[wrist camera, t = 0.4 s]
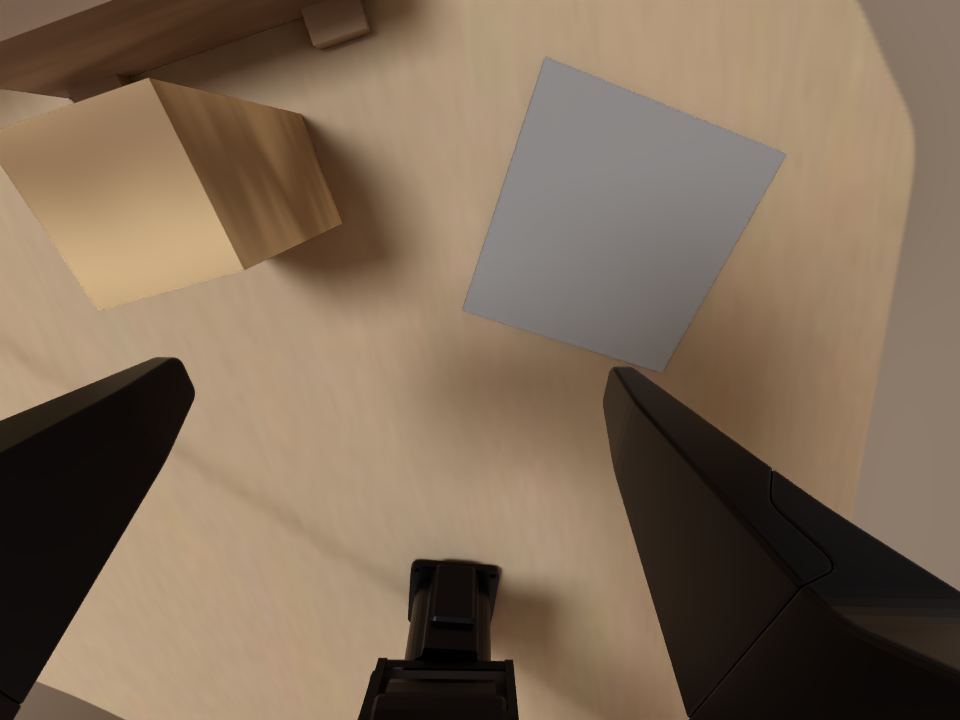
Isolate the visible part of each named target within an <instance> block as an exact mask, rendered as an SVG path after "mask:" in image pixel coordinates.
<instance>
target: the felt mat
mask: <svg viewBox="0 0 960 720" xmlns="http://www.w3.org/2000/svg"><path fill="white" fill-rule="evenodd" d="M785 156H786V153H784V152H781V151H779V150H776V149H774V148H771V147H769V146H766V145H764V144H761V143H759V142H757V141H754V140H752V139H749V138H747V137H744V136H742V135H739V134H737V133H734V132H732V131H729V130H727V129H724V128H722V127H719V126H717V125H714V124H712V123H709V122H707V121H704V120H702V119H699V118H697V117H694V116H692V115H690V114H687V113H685V112H682V111H680V110H677V109H675V108H672V107H670V106H667V105H665V104H662V103H660V102H657V101H655V100H652V99H650V98H647V97H645V96H642V95H640V94H637V93H635V92H632V91H630V90H628V89H625V88H623V87H620V86H618V85H615V84H613V83H610V82H608V81H605V80H603V79H600V78H598V77H595V76H593V75H590V74H588V73H585V72H583V71H580V70H578V69H575V68H573V67H570V66H568V65H565V64H563V63H561V62H558V61H556V60H553V59H551V58H548V57H545V59H544V62H543V65H542V68H541V71H540V74H539V77H538V80H537V83H536V86H535V89H534V92H533V95H532V98H531V101H530V104H529V107H528V111H527V114H526V117H525V120H524V123H523V126H522V129H521V132H520V135H519V138H518V141H517V144H516V147H515V150H514V153H513V156H512V159H511V163H510V166H509V169H508V172H507V175H506V178H505V181H504V184H503V187H502V190H501V193H500V196H499V199H498V202H497V205H496V208H495V211H494V215H493V218H492V221H491V224H490V227H489V230H488V233H487V236H486V239H485V242H484V245H483V248H482V251H481V254H480V257H479V260H478V264H477V267H476V270H475V273H474V276H473V279H472V282H471V285H470V288H469V291H468V294H467V297H466V300H465V303H464V306H463V311H465V312H468V313H472V314H475V315H478V316H481V317H484V318H487V319H491V320H494V321H497V322H500V323H503V324H507V325H510V326H513V327H516V328H519V329H522V330H526V331H529V332H532V333H535V334H538V335H542V336H545V337H548V338H551V339H554V340H557V341H561V342H564V343H567V344H570V345H573V346H577V347H580V348H583V349H586V350H589V351H592V352H596V353H599V354H602V355H605V356H608V357H612V358H615V359H618V360H621V361H624V362H628V363H631V364H634V365H637V366H640V367H643V368H647V369H650V370H653V371H656V372H659V373H662V372H663V370H664V369H665V367H666V365H667V363H668V362H669V360H670V358H671V356H672V355H673V353H674V351H675V349H676V348H677V346H678V344H679V342H680V341H681V339H682V337H683V335H684V334H685V332H686V330H687V328H688V327H689V325H690V323H691V321H692V319H693V318H694V316H695V314H696V312H697V311H698V309H699V307H700V305H701V304H702V302H703V300H704V298H705V297H706V295H707V293H708V291H709V290H710V288H711V286H712V284H713V283H714V281H715V279H716V277H717V276H718V274H719V272H720V270H721V269H722V267H723V265H724V263H725V261H726V260H727V258H728V256H729V254H730V253H731V251H732V249H733V247H734V246H735V244H736V242H737V240H738V239H739V237H740V235H741V233H742V232H743V230H744V228H745V226H746V225H747V223H748V221H749V219H750V218H751V216H752V214H753V212H754V211H755V209H756V207H757V205H758V203H759V202H760V200H761V198H762V196H763V195H764V193H765V191H766V189H767V188H768V186H769V184H770V182H771V181H772V179H773V177H774V175H775V174H776V172H777V170H778V168H779V167H780V165H781V163H782V161H783V160H784V158H785Z"/></svg>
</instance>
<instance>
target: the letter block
mask: <svg viewBox="0 0 960 720" xmlns="http://www.w3.org/2000/svg"><path fill="white" fill-rule="evenodd" d="M0 165H1V166H2V168H3V169H4V171H5V172H6V174H7V175H8V177H9V178H10V180H11V181H12V183H13V184H14V186H15V187H16V189H17V190H18V192H19V193H20V195H21V196H22V198H23V199H24V201H25V202H26V204H27V205H28V207H29V208H30V210H31V211H32V213H33V214H34V216H35V217H36V219H37V220H38V222H39V223H40V225H41V226H42V228H43V229H44V231H45V232H46V234H47V235H48V237H49V238H50V240H51V241H52V243H53V244H54V246H55V247H56V249H57V250H58V252H59V253H60V255H61V256H62V258H63V259H64V261H65V262H66V264H67V265H68V267H69V268H70V270H71V271H72V273H73V274H74V276H75V277H76V279H77V280H78V282H79V283H80V285H81V286H82V288H83V289H84V291H85V292H86V294H87V295H88V297H89V298H90V300H91V301H92V303H93V304H94V306H95V307H96V309H97V310H98V311H100V310H103V309H107V308H110V307H114V306H118V305H121V304H125V303H128V302H132V301H136V300H139V299H143V298H146V297H150V296H154V295H157V294H161V293H164V292H168V291H172V290H175V289H179V288H182V287H186V286H189V285H193V284H197V283H200V282H204V281H207V280H211V279H215V278H218V277H222V276H225V275H229V274H233V273H236V272H240V271H243V270H246V269H248V268H250V267H252V266H254V265H256V264H258V263H261V262H263V261H265V260H267V259H269V258H271V257H273V256H275V255H277V254H280V253H282V252H284V251H286V250H288V249H290V248H292V247H294V246H296V245H298V244H301V243H303V242H305V241H307V240H309V239H311V238H313V237H315V236H317V235H320V234H322V233H324V232H326V231H328V230H330V229H332V228H334V227H336V226H339V225H341V224H343V223H342V220H341V218H340V215H339V213H338V210H337V207H336V205H335V202H334V199H333V197H332V194H331V192H330V189H329V186H328V184H327V181H326V179H325V176H324V173H323V171H322V168H321V166H320V163H319V160H318V158H317V155H316V152H315V150H314V147H313V145H312V142H311V139H310V137H309V134H308V132H307V129H306V126H305V124H304V121H303V118H302V116H301V114H299V113H295V112H290V111H286V110H282V109H278V108H274V107H269V106H265V105H261V104H257V103H253V102H248V101H244V100H240V99H236V98H232V97H227V96H223V95H219V94H215V93H210V92H206V91H202V90H198V89H194V88H189V87H185V86H181V85H177V84H173V83H168V82H164V81H160V80H156V79H152V78H147V79H144V80H141V81H138V82H135V83H132V84H129V85H126V86H123V87H120V88H117V89H114V90H112V91H109V92H106V93H103V94H100V95H97V96H94V97H91V98H88V99H85V100H82V101H80V102H77V103H74V104H71V105H68V106H65V107H62V108H59V109H56V110H53V111H50V112H47V113H45V114H42V115H39V116H36V117H33V118H30V119H27V120H24V121H21V122H18V123H15V124H13V125H10V126H7V127H4V128H1V129H0Z"/></svg>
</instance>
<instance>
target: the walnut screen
mask: <svg viewBox="0 0 960 720" xmlns="http://www.w3.org/2000/svg"><path fill="white" fill-rule="evenodd" d="M301 17H303V18H304V21H305V24H306V27H307V29H308V32H309V35H310V38H311V41H312V44H313V46H315V47H316V48H318V49H319V50H321V49H324V48H327V47H330V46H333V45H336V44H339V43H342V42H345V41H348V40H351V39H354V38H357V37H360V36H363V35H366V34H369V33H372V32H371V29H370V26H369V22H368V19H367V16H366V12H365V9H364V6H363V2H362V0H0V89H6V90H13V91H20V92H27V93H34V94H41V95H48V96H55V97H62V98H70V97H71V98H72V100H73V101H74V103H77V102H80V101H82V100H85V99H88V98H91V97H94V96H97V95H100V94H103V93H106V92H109V91H112V90H114V89H117V88H120V87H123V86H126V85H129V84H132V81H131V79H130V76H133V75H136V74H139V73H142V72H145V71H148V70H151V69H154V68H156V67H159V66H162V65H165V64H168V63H171V62H174V61H177V60H180V59H183V58H185V57H188V56H191V55H194V54H197V53H200V52H203V51H206V50H209V49H212V48H214V47H217V46H220V45H223V44H226V43H229V42H232V41H235V40H238V39H240V38H243V37H246V36H249V35H252V34H255V33H258V32H261V31H264V30H267V29H269V28H272V27H275V26H278V25H281V24H284V23H287V22H290V21H293V20H296V19H298V18H301Z"/></svg>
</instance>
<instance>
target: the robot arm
mask: <svg viewBox="0 0 960 720" xmlns="http://www.w3.org/2000/svg"><path fill="white" fill-rule="evenodd" d="M194 397H195V390H194V386H193V384H192V382H191V380H190V378H189V376H188V373H187V371H186V369H185V367H184V365H183V363H182V362H181V361H180V360H179V359H177V358H174V357H156V358H152V359H150V360H148V361H145V362H143V363H140V364H138V365H135V366H133V367H131V368H128V369H126V370H123V371H121V372H118V373H116V374H113V375H111V376H109V377H106V378H104V379H101V380H99V381H96V382H94V383H91V384H89V385H87V386H84V387H82V388H79V389H77V390H74V391H72V392H70V393H67V394H65V395H62V396H60V397H57V398H55V399H52V400H50V401H48V402H45V403H43V404H40V405H38V406H35V407H33V408H30V409H28V410H26V411H23V412H21V413H18V414H16V415H13V416H11V417H9V418H6V419H4V420H1V421H0V720H14V718H15V716H16V714H17V713H18V711H19V709H20V708H21V705H20V704H21V703H23V702H24V700H25V699H26V697H27V695H28V693H29V692H30V690H31V688H32V687H33V685H34V683H35V682H36V680H37V678H38V677H39V675H40V673H41V671H42V670H43V668H44V666H45V665H46V663H47V661H48V660H49V658H50V656H51V655H52V653H53V651H54V650H55V648H56V646H57V644H58V643H59V641H60V639H61V638H62V636H63V634H64V633H65V631H66V629H67V628H68V626H69V624H70V623H71V621H72V619H73V617H74V616H75V614H76V612H77V611H78V609H79V607H80V606H81V604H82V602H83V601H84V599H85V597H86V595H87V594H88V592H89V590H90V589H91V587H92V585H93V584H94V582H95V580H96V579H97V577H98V575H99V574H100V572H101V570H102V568H103V567H104V565H105V563H106V562H107V560H108V558H109V557H110V555H111V553H112V552H113V550H114V548H115V547H116V545H117V543H118V541H119V540H120V538H121V536H122V535H123V533H124V531H125V530H126V528H127V526H128V525H129V523H130V521H131V519H132V518H133V516H134V514H135V513H136V511H137V509H138V508H139V506H140V504H141V503H142V501H143V499H144V498H145V496H146V494H147V492H148V491H149V489H150V487H151V486H152V484H153V482H154V481H155V479H156V477H157V476H158V474H159V472H160V470H161V469H162V467H163V465H164V463H165V461H166V459H167V457H168V455H169V453H170V451H171V449H172V447H173V445H174V443H175V440H176V438H177V436H178V434H179V432H180V429H181V427H182V425H183V423H184V421H185V418H186V416H187V414H188V412H189V410H190V407H191V405H192V403H193V401H194ZM603 408H604V414H605V420H606V426H607V432H608V438H609V444H610V450H611V456H612V462H613V467H614V472H615V475H616V479H617V483H618V486H619V489H620V493H621V496H622V499H623V503H624V506H625V509H626V513H627V516H628V519H629V523H630V526H631V529H632V533H633V536H634V539H635V543H636V546H637V549H638V553H639V556H640V559H641V563H642V566H643V570H644V573H645V576H646V580H647V583H648V586H649V590H650V593H651V596H652V600H653V603H654V606H655V610H656V613H657V616H658V620H659V623H660V626H661V630H662V633H663V636H664V640H665V643H666V646H667V650H668V653H669V656H670V660H671V663H672V666H673V670H674V673H675V676H676V680H677V683H678V687H679V690H680V693H681V697H682V700H683V703H684V707H685V710H686V713H687V716H688V717H689V718H690V719H689V720H960V591H958V590H956V589H955V588H953V587H952V586H950V585H949V584H947V583H945V582H944V581H942V580H940V579H939V578H938V577H936V576H934V575H933V574H931V573H930V572H928V571H926V570H925V569H923V568H922V567H920V566H919V565H917V564H915V563H914V562H912V561H911V560H909V559H908V558H906V557H904V556H903V555H901V554H900V553H898V552H896V551H895V550H893V549H892V548H890V547H889V546H887V545H885V544H884V543H882V542H881V541H879V540H878V539H876V538H874V537H873V536H871V535H870V534H868V533H866V532H865V531H863V530H862V529H860V528H859V527H857V526H856V525H854V524H853V523H851V522H849V521H848V520H846V519H845V518H843V517H842V516H840V515H839V514H837V513H836V512H834V511H833V510H831V509H830V508H828V507H826V506H825V505H824V504H822V503H821V502H819V501H818V500H816V499H815V498H813V497H812V496H811V495H809V494H808V493H806V492H805V491H803V490H802V489H801V488H799V487H798V486H796V485H795V484H793V483H792V482H791V481H789V480H788V479H787V478H785V477H784V476H782V475H781V474H780V473H778V472H777V471H772V468H771V467H770V466H768V465H767V464H766V463H764V462H763V461H761V460H760V459H759V458H757V457H756V456H754V455H753V454H752V453H750V452H749V451H748V450H746V449H745V448H743V447H742V446H741V445H739V444H738V443H736V442H735V441H734V440H732V439H731V438H730V437H728V436H727V435H725V434H724V433H723V432H721V431H720V430H718V429H717V428H716V427H714V426H713V425H712V424H710V423H709V422H707V421H706V420H705V419H703V418H702V417H701V416H699V415H698V414H696V413H695V412H694V411H692V410H691V409H689V408H688V407H687V406H685V405H684V404H683V403H681V402H680V401H678V400H677V399H676V398H674V397H673V396H671V395H670V394H669V393H667V392H666V391H665V390H663V389H662V388H660V387H659V386H658V385H656V384H655V383H653V382H652V381H651V380H649V379H648V378H647V377H645V376H644V375H642V374H641V373H640V372H638V371H637V370H635V369H634V368H632V367H613V368H612V369H611V370H610V372H609V376H608V381H607V385H606V389H605V393H604V398H603ZM498 582H499V569H498V568H496V567H490V566H478V565H466V564H453V563H441V562H429V561H414V562H413V563H412V566H411V575H410V592H409V609H408V620H409V622H410V628H409V635H408V641H407V648H406V654H405V660H388V659H387V658H379V659H378V662H377V665H376V669H375V671H373V672H372V675H371V677H370V681H369V685H368V688H367V692H366V695H365V698H364V702H363V705H362V708H361V711H360V715H359V717H358V720H519V717H518V706H517V696H516V686H515V676H514V665H513V660H505V661H491V641H490V625H491V619H492V614H493V609H494V603H495V598H496V592H497V587H498Z"/></svg>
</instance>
